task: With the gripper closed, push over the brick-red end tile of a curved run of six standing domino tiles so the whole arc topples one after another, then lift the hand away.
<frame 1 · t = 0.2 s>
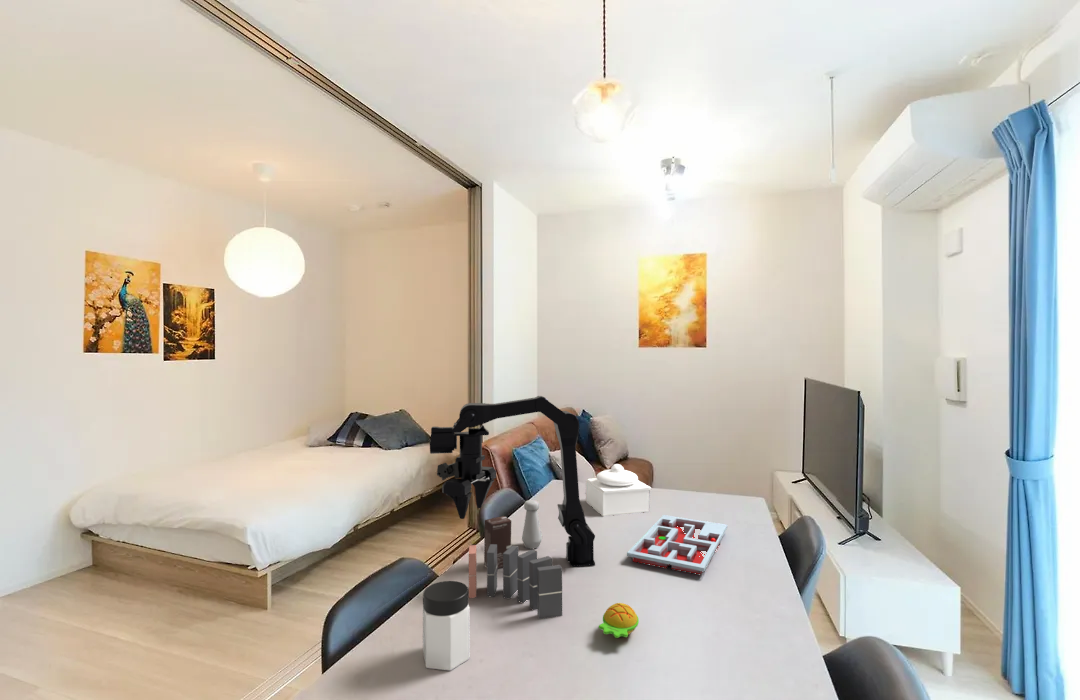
hand: (470, 513, 127), 14 cm above the table, tool pointing down, fingers open, 9 cm apart
domino 6: (549, 615, 104), on the table
domino 4: (527, 598, 111), on the table
box: (497, 566, 129), on the table
salt shaker: (532, 547, 142), on the table
butter dish: (617, 508, 178), on the table
toy burger bun: (619, 636, 96), on the table
domino 1: (472, 592, 114), on the table
maze game: (681, 549, 140), on the table
domino 2: (492, 591, 115), on the table
domino 5: (541, 605, 108), on the table
jar: (446, 657, 90), on the table
domino 3: (511, 593, 114), on the table
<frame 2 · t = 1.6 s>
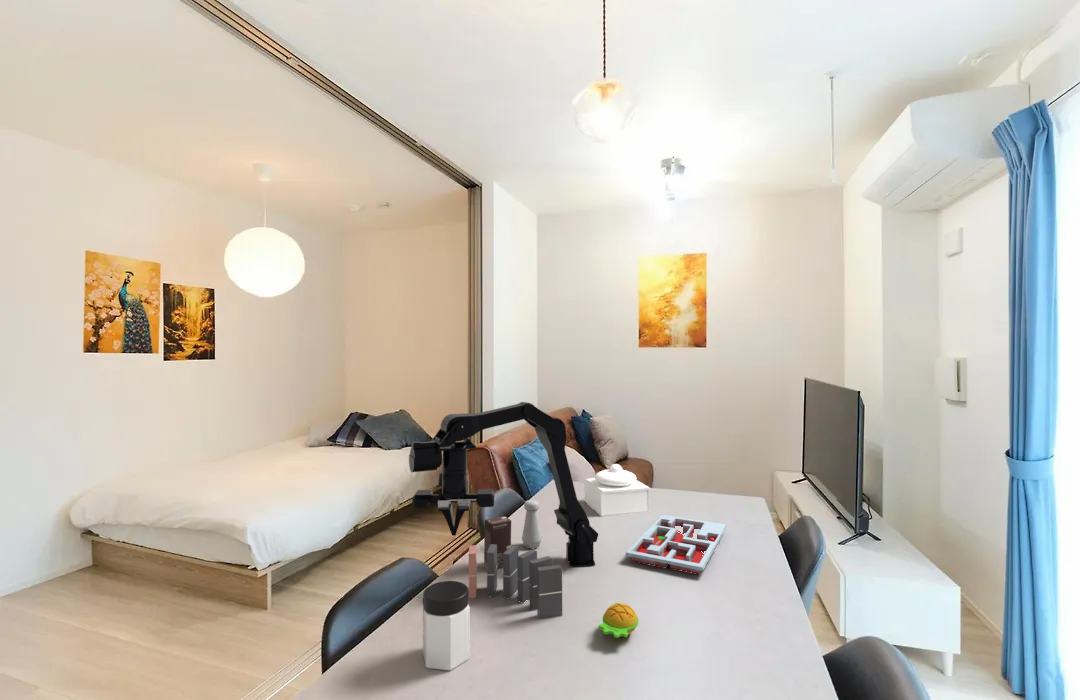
hand: (454, 535, 116), 13 cm above the table, tool pointing down, fingers closed
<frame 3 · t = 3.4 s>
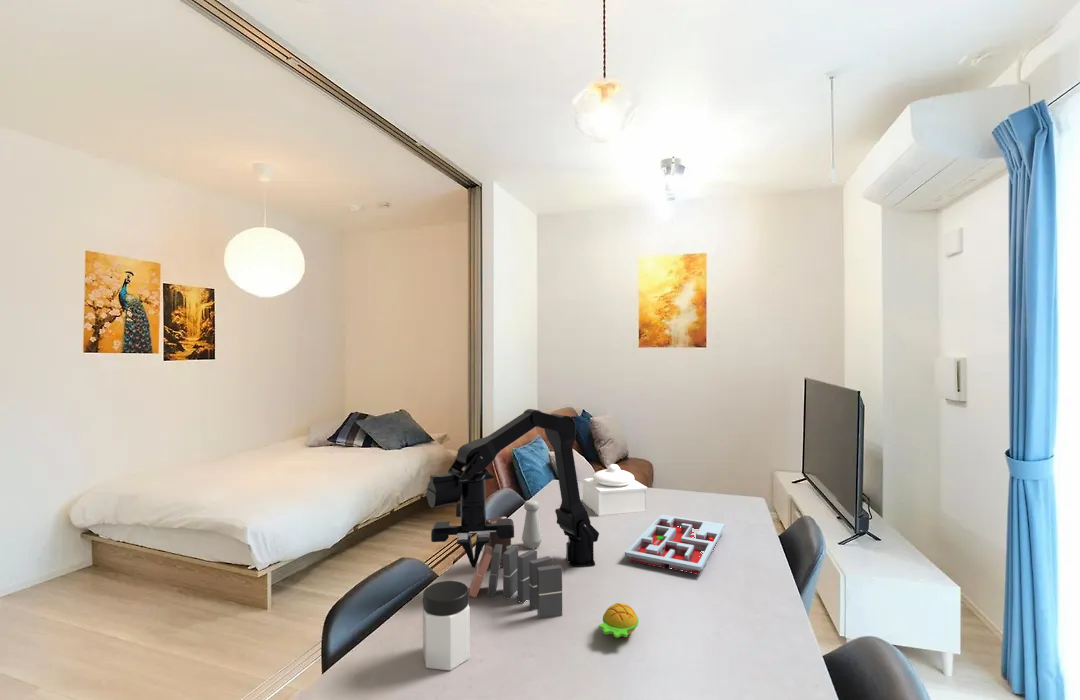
hand: (473, 566, 114), 6 cm above the table, tool pointing down, fingers closed
domino 1: (473, 591, 114), on the table, tilted 22°
domino 2: (492, 591, 115), on the table, tilted 7°
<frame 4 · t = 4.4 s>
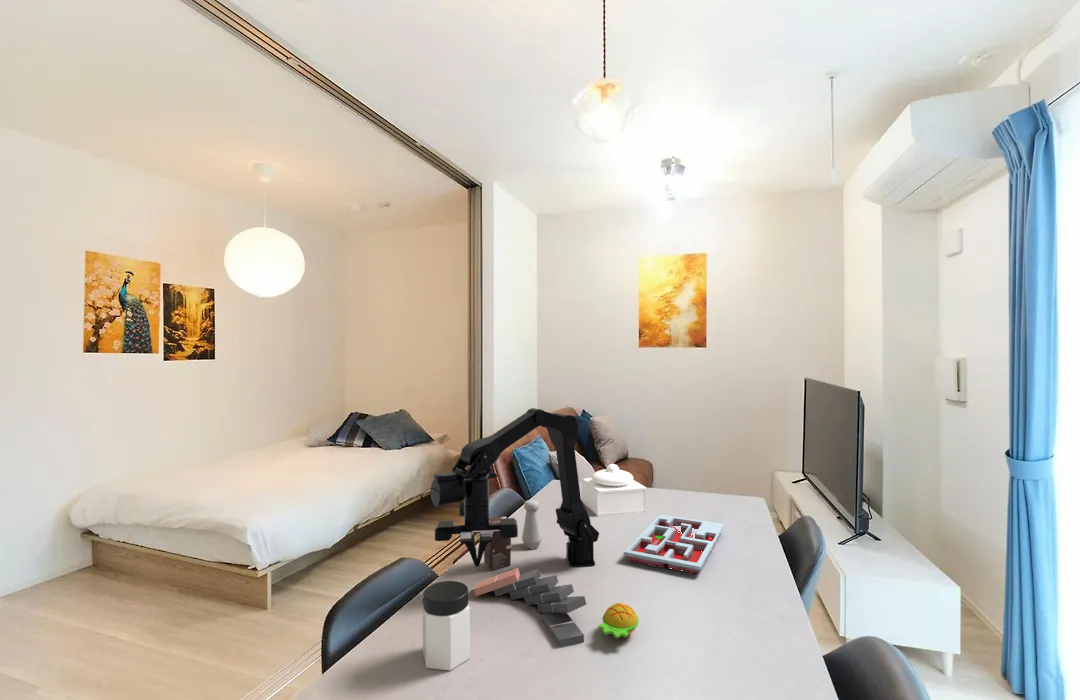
hand: (477, 566, 114), 6 cm above the table, tool pointing down, fingers closed
domino 6: (553, 615, 103), on the table, tilted 90°, touching domino 5
domino 4: (532, 597, 110), point 1 cm above the table, tilted 68°, touching domino 3, domino 5
domino 1: (477, 589, 114), point 1 cm above the table, tilted 70°, touching domino 2
domino 2: (497, 588, 114), point 1 cm above the table, tilted 70°, touching domino 1, domino 3
domino 5: (546, 604, 107), point 1 cm above the table, tilted 69°, touching domino 4, domino 6
domino 3: (515, 591, 113), point 1 cm above the table, tilted 69°, touching domino 2, domino 4
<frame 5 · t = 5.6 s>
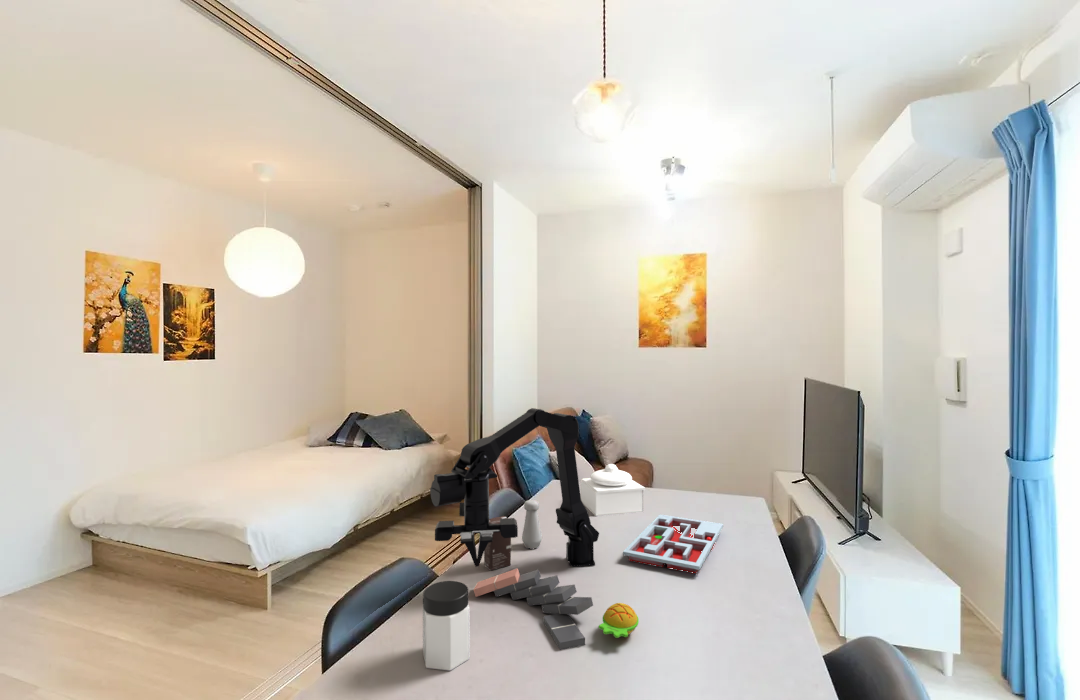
hand: (477, 566, 114), 6 cm above the table, tool pointing down, fingers closed
domino 6: (555, 618, 102), on the table, tilted 90°
domino 5: (550, 604, 107), point 1 cm above the table, tilted 72°, touching domino 4
domino 3: (516, 591, 113), point 1 cm above the table, tilted 70°, touching domino 2, domino 4
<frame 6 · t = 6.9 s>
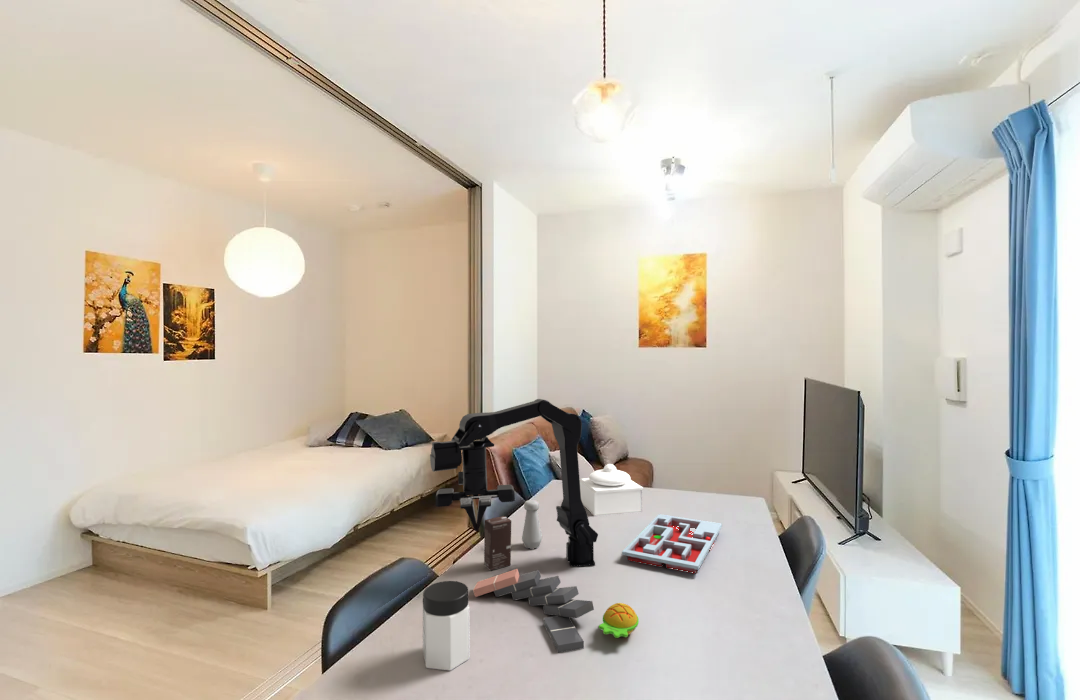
hand: (476, 530, 120), 12 cm above the table, tool pointing down, fingers closed
domino 6: (555, 620, 101), on the table, tilted 90°, touching domino 5
domino 5: (552, 606, 106), point 1 cm above the table, tilted 73°, touching domino 4, domino 6
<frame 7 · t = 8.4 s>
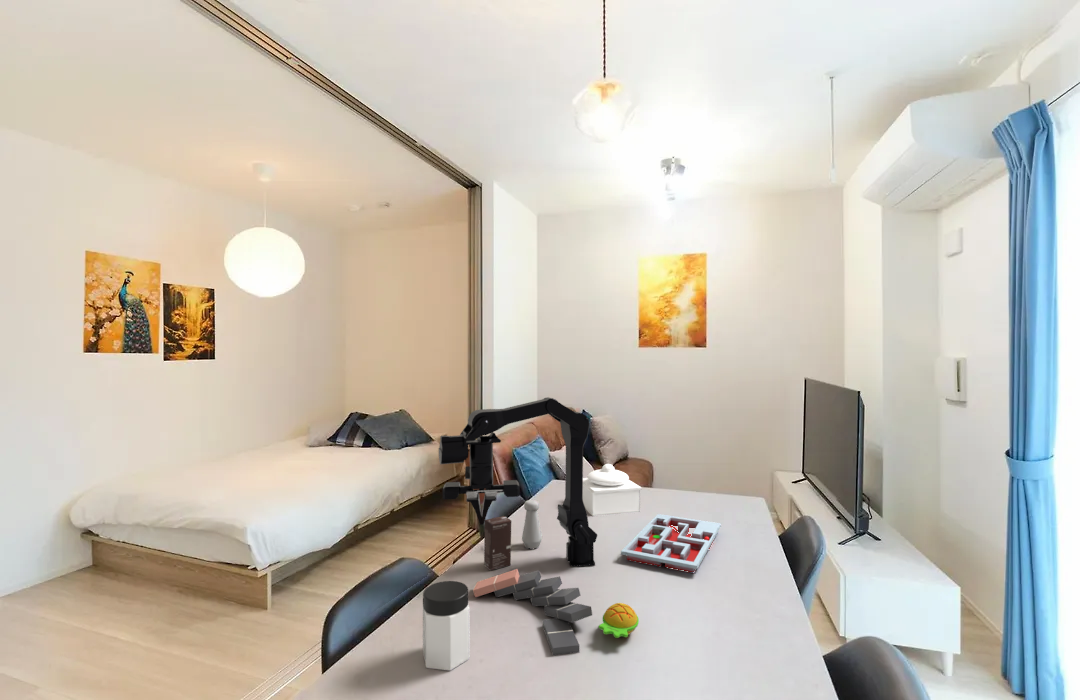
hand: (481, 524, 122), 13 cm above the table, tool pointing down, fingers closed
domino 1: (476, 589, 114), point 1 cm above the table, tilted 72°, touching domino 2
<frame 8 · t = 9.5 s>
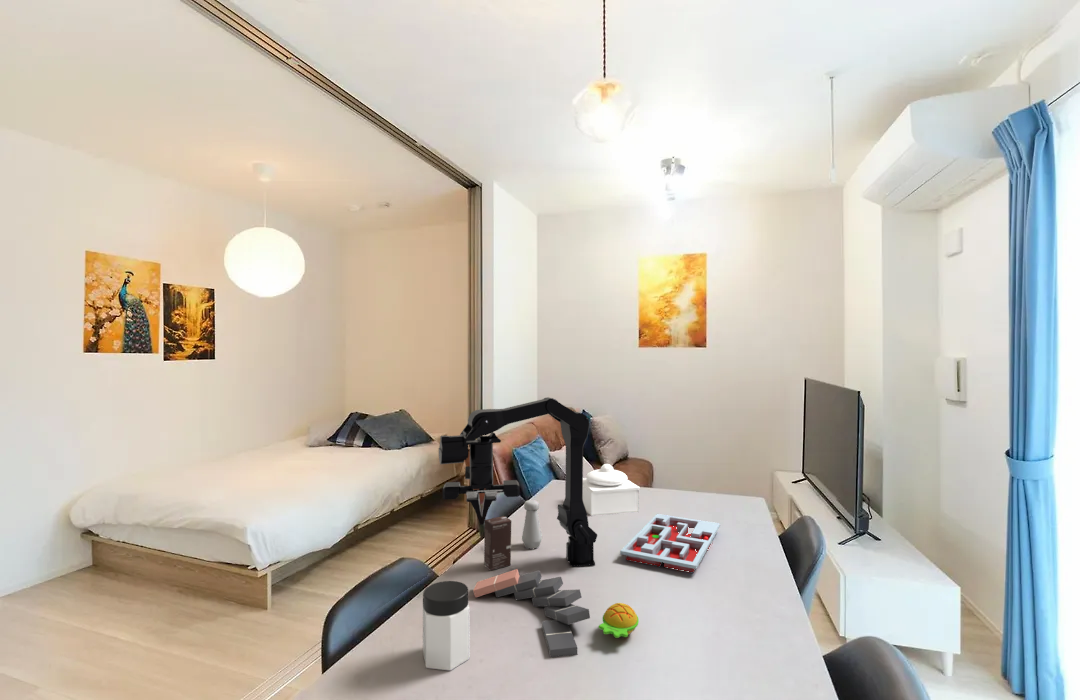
hand: (481, 524, 122), 13 cm above the table, tool pointing down, fingers closed
domino 6: (554, 623, 100), on the table, tilted 90°
domino 4: (540, 598, 110), point 1 cm above the table, tilted 71°, touching domino 5
domino 1: (476, 589, 114), point 1 cm above the table, tilted 72°, touching domino 2
domino 5: (555, 608, 105), point 1 cm above the table, tilted 74°, touching domino 4
domino 3: (519, 591, 113), point 1 cm above the table, tilted 72°, touching domino 2
at the end: domino 6 tilted 90°; domino 1 tilted 72° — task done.
